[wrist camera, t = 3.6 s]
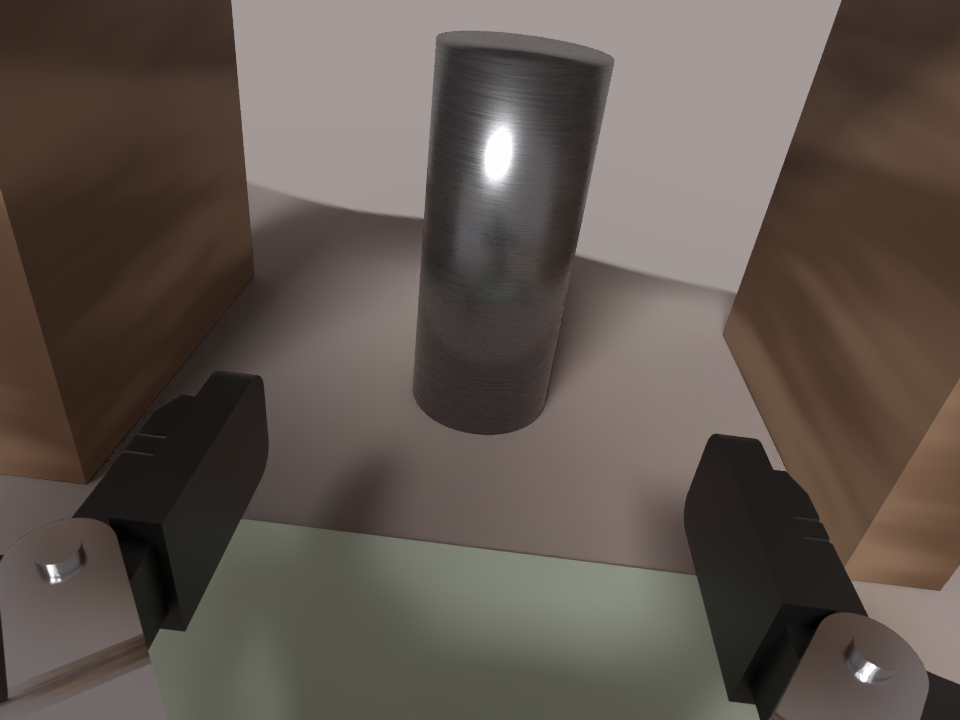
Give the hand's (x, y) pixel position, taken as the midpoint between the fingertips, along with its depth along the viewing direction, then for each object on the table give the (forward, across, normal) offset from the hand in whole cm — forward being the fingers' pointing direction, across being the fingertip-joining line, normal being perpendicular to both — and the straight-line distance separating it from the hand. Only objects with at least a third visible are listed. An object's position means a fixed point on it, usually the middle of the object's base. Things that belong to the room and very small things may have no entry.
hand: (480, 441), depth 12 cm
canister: (+11, 0, +7) cm, 13 cm away
